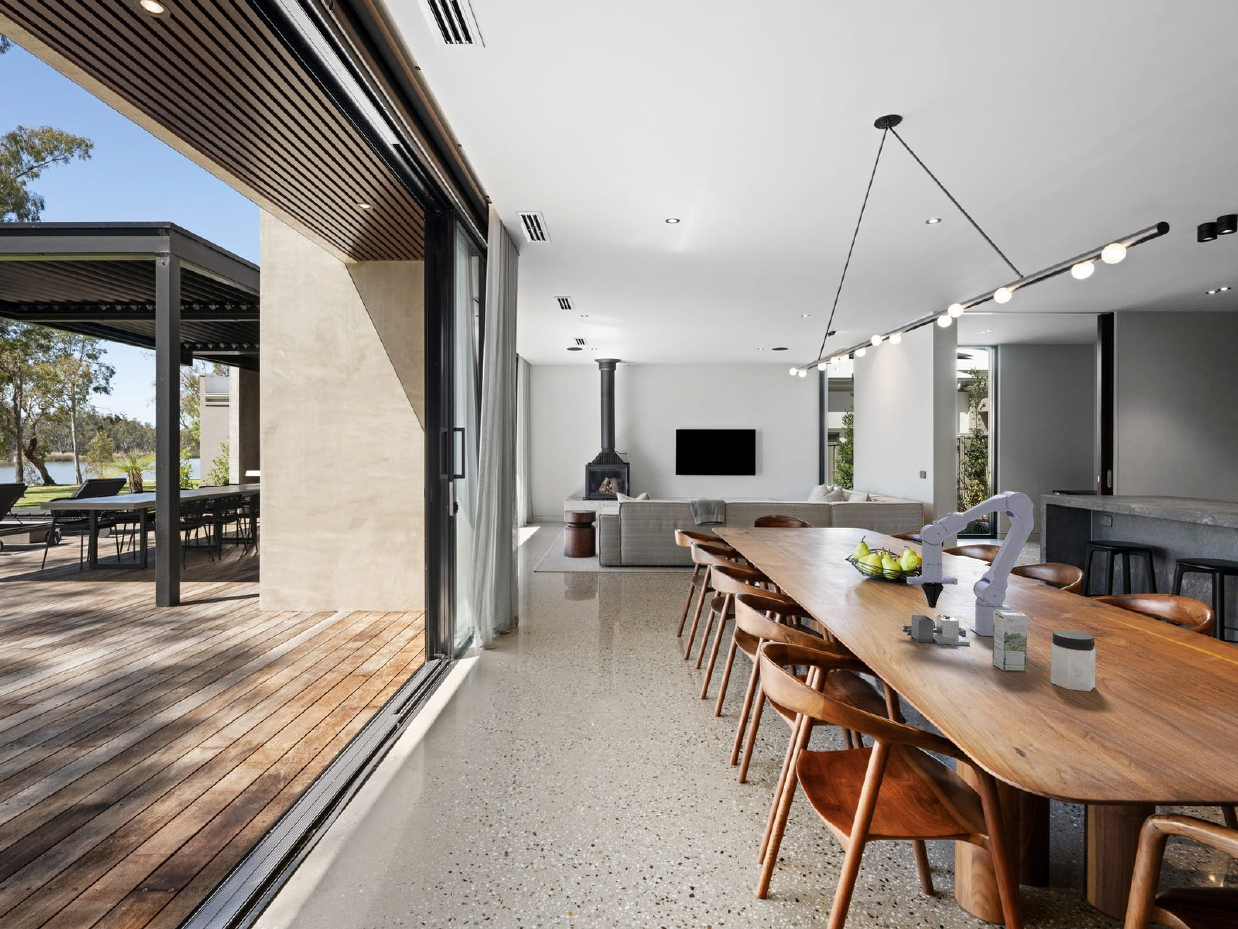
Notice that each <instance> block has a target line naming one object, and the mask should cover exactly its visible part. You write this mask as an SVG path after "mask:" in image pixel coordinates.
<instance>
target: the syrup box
mask: <svg viewBox="0 0 1238 929" xmlns="http://www.w3.org/2000/svg"><path fill="white" fill-rule="evenodd" d="M1028 619H1029V616H1027V614H1025V613H1023V611H1020V610H1016V609H1015V610H1014V609H1011V610H994V612H993V636H992V658H991V659H992V660H991V661H992V664H994V665H993V666H995V668H996V667H997V668H998V667H999V668H1000V669H999V668H998V669H999V670H1001V671H1003V672H1020V673H1021V672H1025V673H1026V672H1027V659H1028V658H1027V657H1028V656H1027V654H1028V653H1027V652H1028V621H1029V620H1028Z"/></svg>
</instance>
